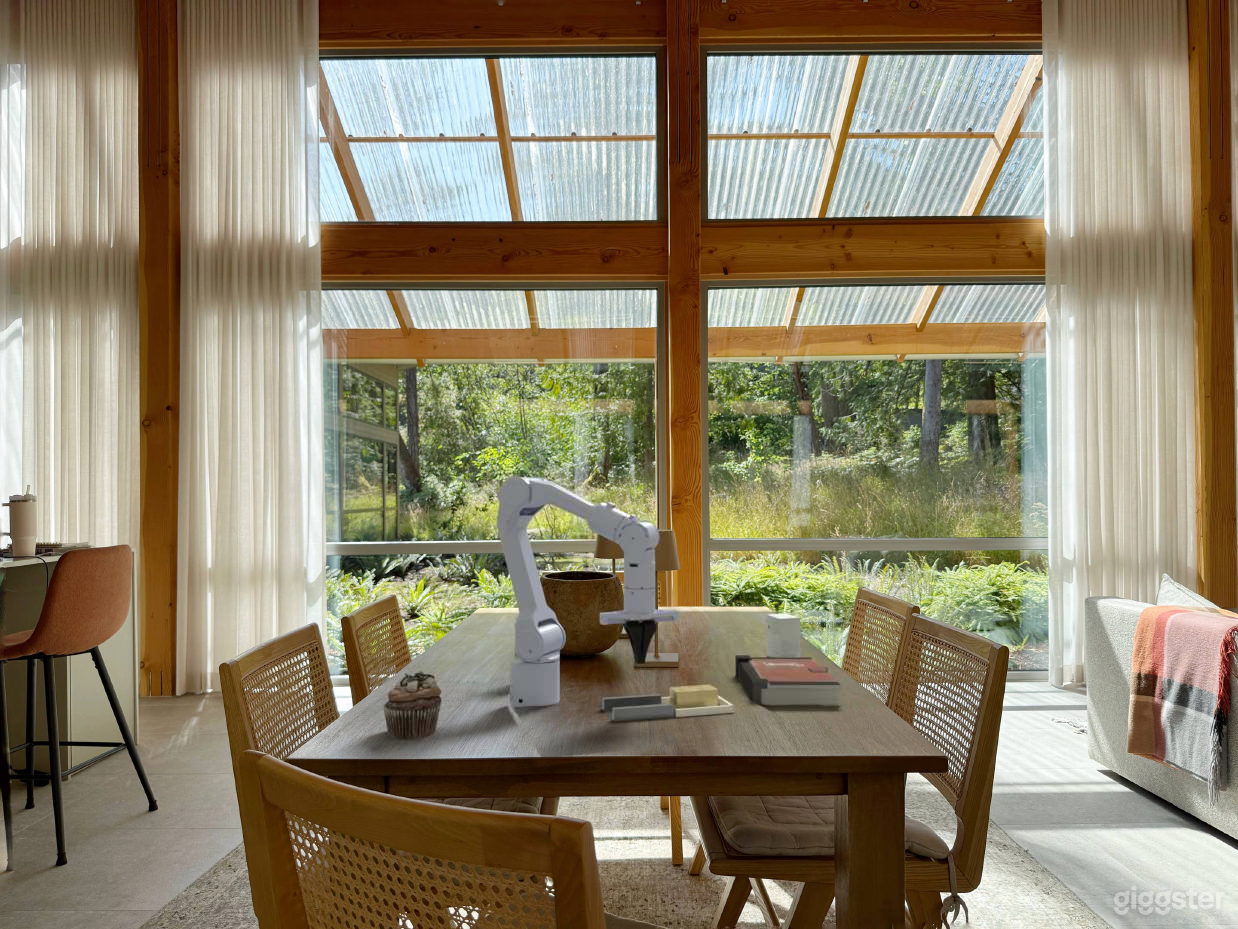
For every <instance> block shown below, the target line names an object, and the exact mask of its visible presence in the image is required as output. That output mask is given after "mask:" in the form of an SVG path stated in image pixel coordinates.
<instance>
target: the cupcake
mask: <svg viewBox="0 0 1238 929" xmlns="http://www.w3.org/2000/svg"><path fill="white" fill-rule="evenodd" d="M437 684H438V683H437V680H436V679H435V676H434V675H432V674H431V673H430V674H429V673H424V672H423V671H420V670H419V671H418V672H416V673H414V675H410V674H408V673H404V676H403V677H402V678H401V679H400V680H399V681H397V682H396V685H395V686H394V688H392V689H391V690H390V691H389V692H388V693H387V698H388V701H387V702H386V703H384V704H383V706H382V707H383V712H384V718H385V723H386V729H387V733H388V734H387V735H388V736H389V738H392V739H397V740H417V739H418V740H419V739H422V738H426V737H428V736H429V737H430V736H432V735H434V734H435V733H436V730H437V726H438V721H439V716H440V711H441V705H442V697H441V695H442V689H441V688H440V687H439V685H437ZM433 733H434V734H433Z"/></svg>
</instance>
